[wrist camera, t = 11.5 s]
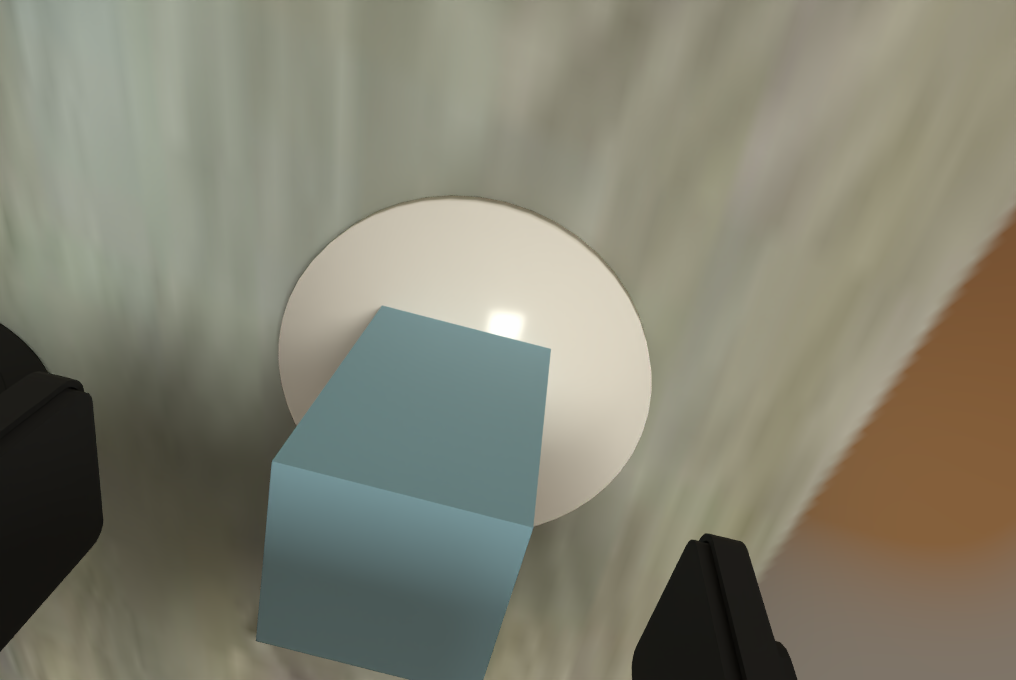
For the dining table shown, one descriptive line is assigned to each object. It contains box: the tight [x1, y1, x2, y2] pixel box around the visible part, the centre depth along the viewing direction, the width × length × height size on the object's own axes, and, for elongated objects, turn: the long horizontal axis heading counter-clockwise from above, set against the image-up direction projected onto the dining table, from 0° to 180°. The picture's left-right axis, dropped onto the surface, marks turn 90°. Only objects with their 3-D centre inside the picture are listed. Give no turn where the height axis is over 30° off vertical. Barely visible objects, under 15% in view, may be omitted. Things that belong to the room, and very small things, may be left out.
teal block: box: [256, 305, 551, 680], centre depth 13 cm, size 4×4×6 cm
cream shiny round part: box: [279, 195, 651, 527], centre depth 16 cm, size 9×9×1 cm
